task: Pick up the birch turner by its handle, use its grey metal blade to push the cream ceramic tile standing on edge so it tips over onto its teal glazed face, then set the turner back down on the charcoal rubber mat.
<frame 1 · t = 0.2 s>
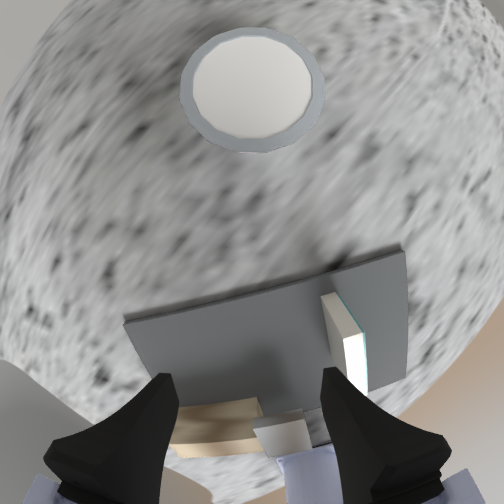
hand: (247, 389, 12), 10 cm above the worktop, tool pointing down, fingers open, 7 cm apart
turner: (220, 410, 24), point 1 cm above the worktop, touching mat
white cup: (252, 115, 18), on the worktop
mat: (279, 360, 23), on the worktop
tile: (333, 326, 21), point 1 cm above the worktop, touching mat
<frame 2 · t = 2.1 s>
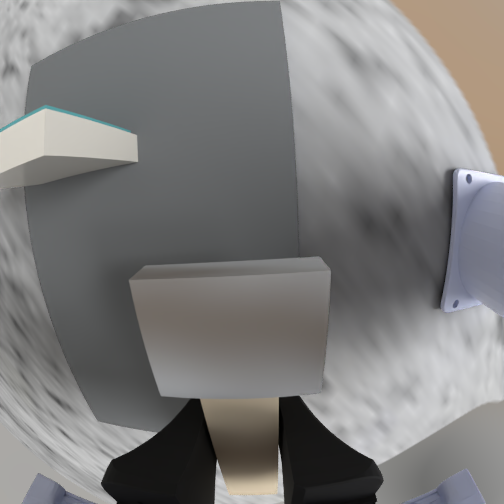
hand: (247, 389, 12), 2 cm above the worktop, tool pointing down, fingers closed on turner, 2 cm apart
turner: (249, 384, 13), point 1 cm above the worktop, touching gripper, mat
mat: (143, 259, 12), on the worktop
tile: (82, 160, 10), point 1 cm above the worktop, touching mat
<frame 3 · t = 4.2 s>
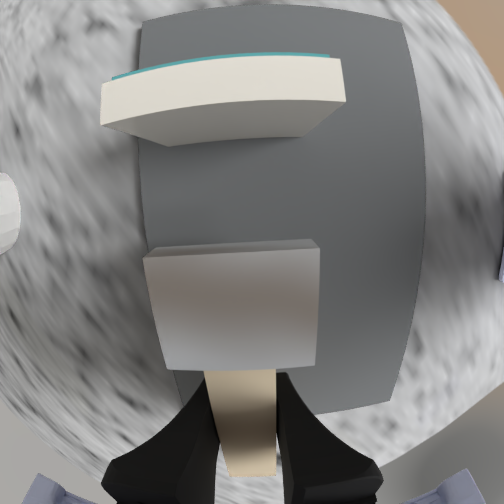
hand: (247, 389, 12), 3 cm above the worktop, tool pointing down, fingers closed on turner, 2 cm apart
turner: (249, 368, 14), point 1 cm above the worktop, touching gripper, mat
white cup: (1, 211, 13), on the worktop
mat: (294, 232, 13), on the worktop
tile: (233, 126, 11), point 1 cm above the worktop, touching mat
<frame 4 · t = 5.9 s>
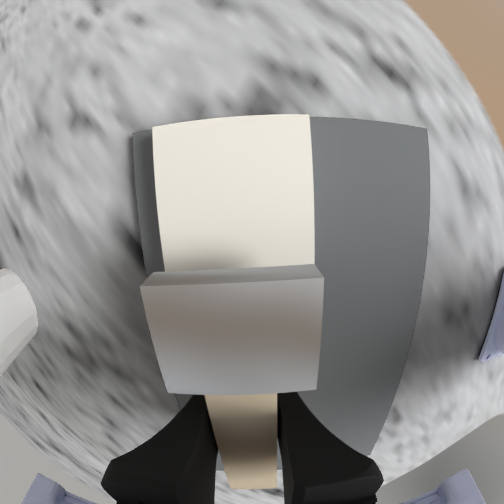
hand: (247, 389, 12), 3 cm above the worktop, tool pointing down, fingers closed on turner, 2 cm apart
turner: (249, 383, 14), point 1 cm above the worktop, touching gripper
white cup: (15, 303, 14), on the worktop
mat: (294, 356, 14), on the worktop
tile: (239, 267, 11), point 1 cm above the worktop, tilted 90°, touching mat
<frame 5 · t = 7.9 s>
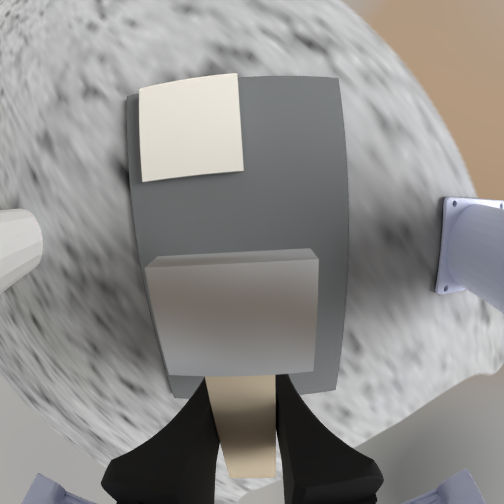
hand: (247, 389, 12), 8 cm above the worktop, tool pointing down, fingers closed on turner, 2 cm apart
turner: (249, 371, 14), point 5 cm above the worktop, touching gripper
white cup: (25, 239, 18), on the worktop
mat: (243, 260, 18), on the worktop
tile: (192, 175, 16), point 1 cm above the worktop, tilted 90°, touching mat
when the fingers open (3 cm above the worktop, at t = 9.3 s): turner stays where it is, resting on mat.
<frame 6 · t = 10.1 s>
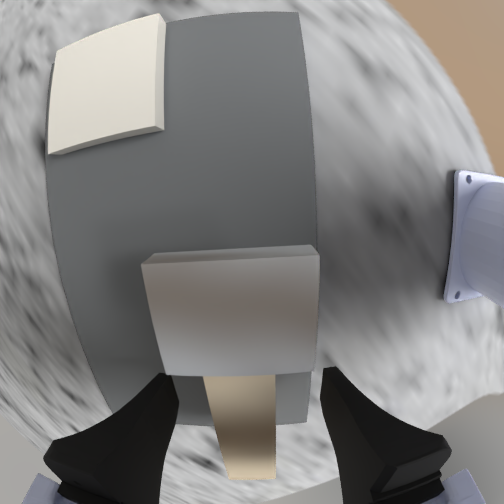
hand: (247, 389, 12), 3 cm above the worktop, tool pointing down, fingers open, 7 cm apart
turner: (248, 371, 14), point 1 cm above the worktop, touching mat
mat: (169, 252, 13), on the worktop
tile: (100, 140, 10), point 1 cm above the worktop, tilted 90°, touching mat
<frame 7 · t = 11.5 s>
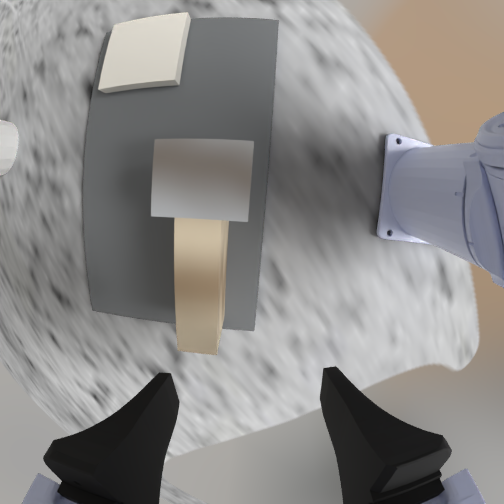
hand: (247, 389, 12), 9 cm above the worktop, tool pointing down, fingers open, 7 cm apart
turner: (209, 264, 19), point 1 cm above the worktop, touching mat
white cup: (5, 148, 17), on the worktop
mat: (167, 164, 18), on the worktop
tile: (137, 86, 15), point 1 cm above the worktop, tilted 90°, touching mat
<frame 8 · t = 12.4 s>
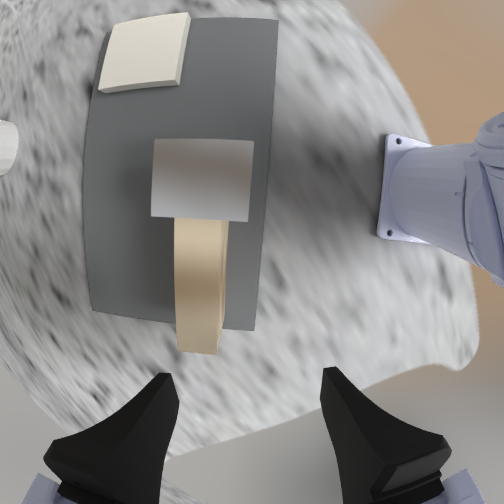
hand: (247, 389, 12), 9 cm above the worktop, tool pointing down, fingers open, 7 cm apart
turner: (209, 264, 19), point 1 cm above the worktop, touching mat
white cup: (5, 148, 17), on the worktop
mat: (167, 164, 18), on the worktop
tile: (137, 86, 15), point 1 cm above the worktop, tilted 90°, touching mat
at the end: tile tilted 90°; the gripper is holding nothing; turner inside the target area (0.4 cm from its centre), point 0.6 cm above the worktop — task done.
